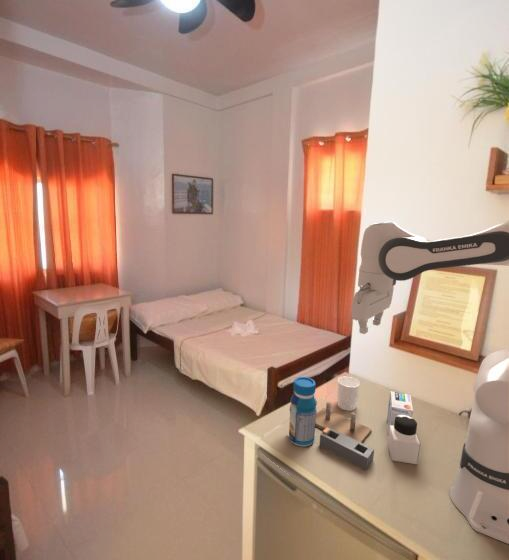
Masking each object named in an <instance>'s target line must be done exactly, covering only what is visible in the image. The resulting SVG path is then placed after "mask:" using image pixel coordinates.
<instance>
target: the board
mask: <svg viewBox="0 0 509 560" xmlns="http://www.w3.org/2000/svg"><path fill="white" fill-rule="evenodd" d="M356 420H357V413H356V412H350V418H347V417H345V416H343V415H341V414H338V413H337V412H334V411H332V403H331V402H329V401H328V402H326V406H325V408H324V407H323V408H322V409H320V410H319V411H317V413H316V422H315V428H318V429H320V430H322V431H323V430H324V429H326V428H328V427H329V428H332V429H334V430H336V431H338V432H340V433H342V434H344V435H346V436H348V437H350V438H353V439H355V440H357V441H359V442H361V443H363V444H364V442H365V441H366V440H367V438H368V437H369V436H370V434H371V433H372V428H370V427H368V426H365V425H363V424H361V423H359V422H357V421H356Z"/></svg>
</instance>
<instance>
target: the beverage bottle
mask: <svg viewBox="0 0 509 560" xmlns="http://www.w3.org/2000/svg"><path fill="white" fill-rule="evenodd" d="M316 386H317V385H316V381H315V380H314V379H313V378H311V377H308V376H298V377H296V378H295V379H294V380H293V388H292V389H293V393H292V395H291V397H290V405H289V426H288V427H289V428H288V439H289V441H290V442H291V443H292V444H294V445H296V446H298V447H308V446H311V445H312V444H314V442H315V437H316V436H315V431H316V427H315V422H316V414H317V413H318V409H317V404H318V402H317V398H316V396H315V393H316Z"/></svg>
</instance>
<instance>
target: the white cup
mask: <svg viewBox="0 0 509 560" xmlns="http://www.w3.org/2000/svg"><path fill="white" fill-rule="evenodd" d="M360 387H361V386H360V381H359V379H356V378H354V377H351V376H339V378H338V379H337V395H336V396H337V403H336V404H337V406H338V407H339V408H340V409H341V410H344V411H349V412H350V411H354V410H356V408H357V407H356V406H357V403H358V398H359V392H360Z"/></svg>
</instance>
